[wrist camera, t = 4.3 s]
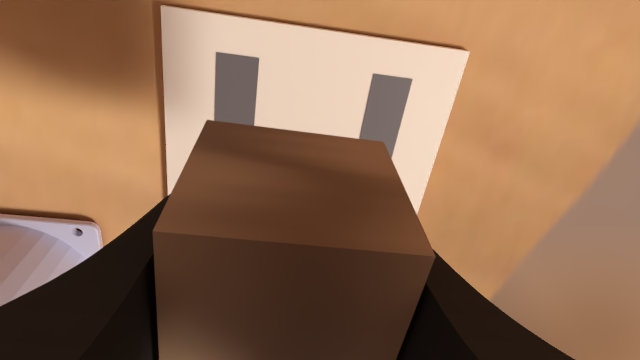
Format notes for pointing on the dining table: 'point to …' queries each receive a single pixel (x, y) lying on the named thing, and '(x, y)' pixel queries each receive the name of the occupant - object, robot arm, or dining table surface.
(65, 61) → the dining table surface
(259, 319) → the walnut block
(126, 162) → the dining table surface
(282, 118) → the letter card
